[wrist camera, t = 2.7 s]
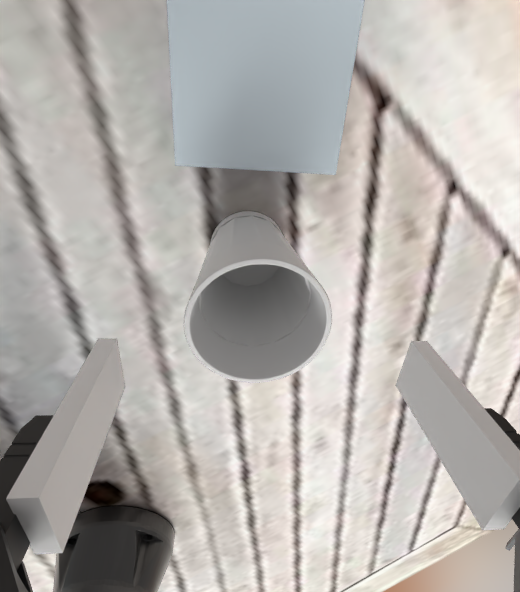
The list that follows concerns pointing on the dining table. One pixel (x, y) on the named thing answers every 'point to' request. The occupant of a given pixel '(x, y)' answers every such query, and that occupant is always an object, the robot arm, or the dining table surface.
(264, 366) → the cup
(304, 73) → the pedestal block
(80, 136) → the dining table surface
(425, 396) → the robot arm
